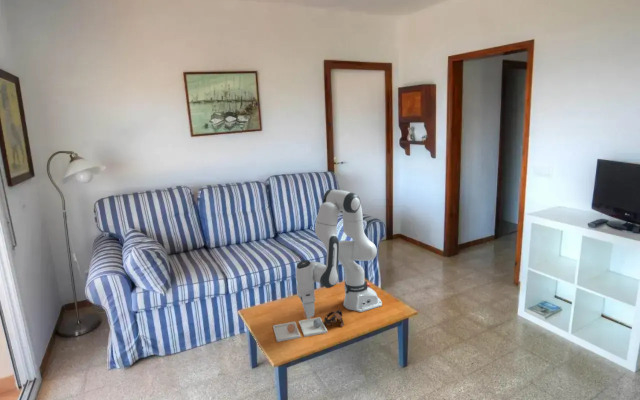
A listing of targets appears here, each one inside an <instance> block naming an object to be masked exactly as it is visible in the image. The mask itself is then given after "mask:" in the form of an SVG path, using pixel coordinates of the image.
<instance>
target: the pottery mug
mask: <svg viewBox="0 0 640 400" xmlns="http://www.w3.org/2000/svg"><path fill="white" fill-rule="evenodd" d="M329 317H330V318H329ZM338 321H340V322H341V323H340V324H339V326H340V327H341V328H343V327H344V326H345V323H344V320H343V311H341V309H337V310H336V311H335V310H334V311H333V310H332V311H330V312H328V313H327V314H326V316H325V317H324V322H325V323H324V325H327V326H329V325H330V326H332V323H337V322H338Z"/></svg>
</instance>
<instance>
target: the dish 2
mask: <svg viewBox="0 0 640 400" xmlns="http://www.w3.org/2000/svg"><path fill="white" fill-rule="evenodd" d="M316 319H318V320H320V321H321V325H320V327H315V326H314V324H313V323H314V321H315V320H316ZM298 325H299V326H300V330H301V331H302V334H303V337H304V338H305V337H307V338H308V337H311V336H312V337H313V336H317V335H321V334H328V329H327V327H326V326H325V325H326V324H325V323H324V322H323V320H322V317H321V316H320V317H311V318H310V319H307V318H306V319H302V320H298Z"/></svg>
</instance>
